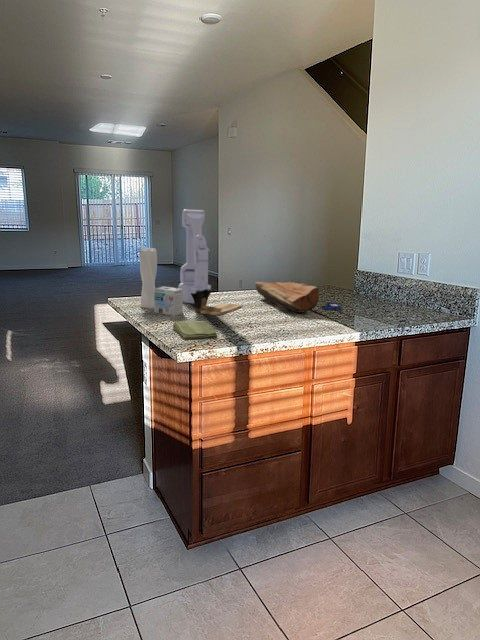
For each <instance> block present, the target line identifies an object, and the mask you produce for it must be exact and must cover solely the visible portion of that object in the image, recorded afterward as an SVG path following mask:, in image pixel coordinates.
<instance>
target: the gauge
mask: <svg viewBox="0 0 480 640" xmlns="http://www.w3.org/2000/svg"><path fill="white" fill-rule="evenodd" d="M205 309H207V310H214V311H222V308H218V307H214V306H208V305H207V304H206V298H204V297H203V298H202V302H201V308H200V309H198V308H196V307H195V310H194V311H195V312H196V313H201V311H202V310H205Z"/></svg>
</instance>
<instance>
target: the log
mask: <svg viewBox="0 0 480 640" xmlns="http://www.w3.org/2000/svg"><path fill="white" fill-rule="evenodd" d="M253 285H254V286H255V287H254V288H255V290H256V292H257V293H258V294H259V295H260V296H262V297H263V298H265V300H268V301H270V302H272V303H274V304H275V305H277V306H279V307H281V308H282V309H288V310H292V311H293V312H295V313H304V312H310V311H311V310H313V309H314V308H315V307H316V306H317V304H318V303H319V299H320V290H319V289H320V288H319V287H318V286H314V285H309V283H307V282H303V283H296V282H293V281H288V282H282V281H281V282H280V281H277V282H265V281H254V283H253Z"/></svg>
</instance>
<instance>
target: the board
mask: <svg viewBox="0 0 480 640" xmlns="http://www.w3.org/2000/svg"><path fill="white" fill-rule="evenodd" d="M213 307H218V308H222V311H214V310H207V309H205V310H202V311H201V312H200V314H205V315H210V316H216V317H217V316H218V317H220V316H223V315H225V314H227V313H230V312H233V311H236V310H238V309H241V308H242V307H243V305H242V304H236V303H228V302H224V303H221V304H217V305H214V306H213Z"/></svg>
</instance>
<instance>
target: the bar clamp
mask: <svg viewBox="0 0 480 640" xmlns="http://www.w3.org/2000/svg"><path fill="white" fill-rule="evenodd" d="M321 309H322V310H324V311H326V310H327V311H329V310H330V311H331V310H333V311H337V312H339V313H340V314H343V315H345V316H346V317H348V318H352V316H351V315H349V314H347V313H345V312H343V311H342V310H341V309H340V303H339V302H333V301H331V302H330V301H329V302H328V301H327V302H326V304H325V305H321Z"/></svg>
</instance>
